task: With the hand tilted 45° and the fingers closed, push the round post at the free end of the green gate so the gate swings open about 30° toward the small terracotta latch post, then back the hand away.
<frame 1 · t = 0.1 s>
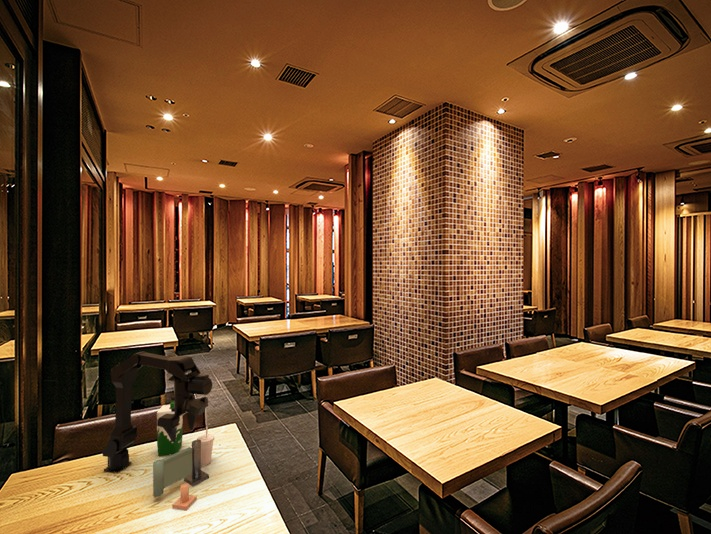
hand: (182, 435, 125), 15 cm above the table, tool pointing down, fingers open, 9 cm apart
smoothie: (205, 463, 133), on the table
milk carton: (170, 451, 142), on the table
gate: (173, 470, 116), point 7 cm above the table, hinge at 0.0°
hinge post: (196, 479, 123), on the table
latch post: (184, 504, 110), on the table
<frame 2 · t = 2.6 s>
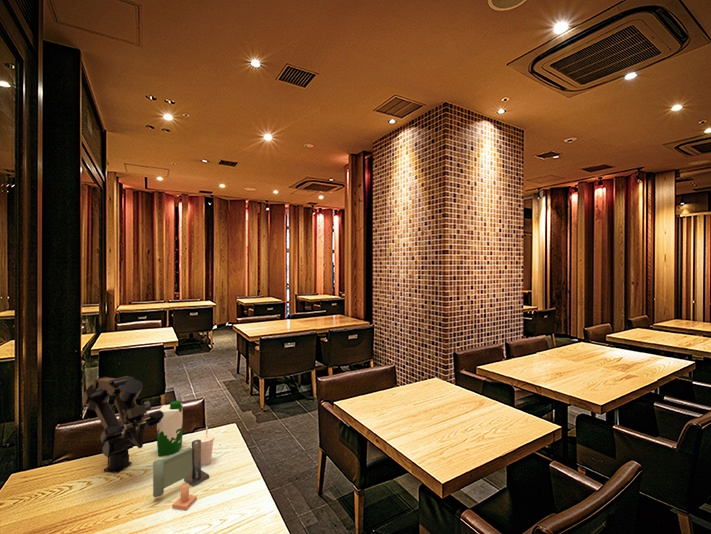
hand: (141, 447, 120), 13 cm above the table, tool tilted 45°, fingers closed
nothing on the table moved.
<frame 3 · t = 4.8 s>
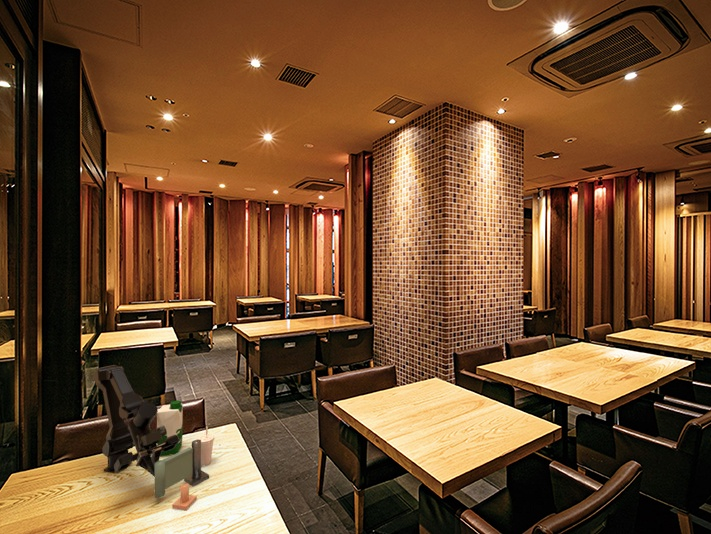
hand: (156, 476, 113), 7 cm above the table, tool tilted 45°, fingers closed, pressing on gate
gate: (174, 471, 116), point 7 cm above the table, hinge at 4.1°, touching gripper
everything else where it was.
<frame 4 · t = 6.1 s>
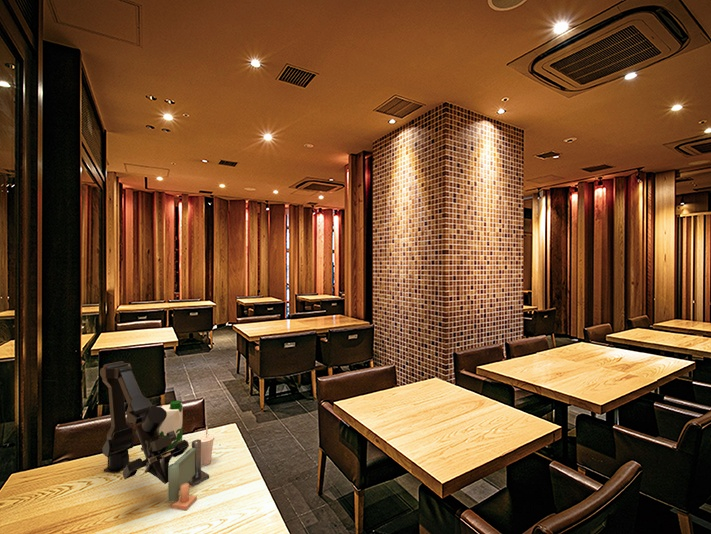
hand: (166, 482, 109), 7 cm above the table, tool tilted 45°, fingers closed
gate: (182, 473, 115), point 7 cm above the table, hinge at 29.5°, touching gripper
everything else where it was.
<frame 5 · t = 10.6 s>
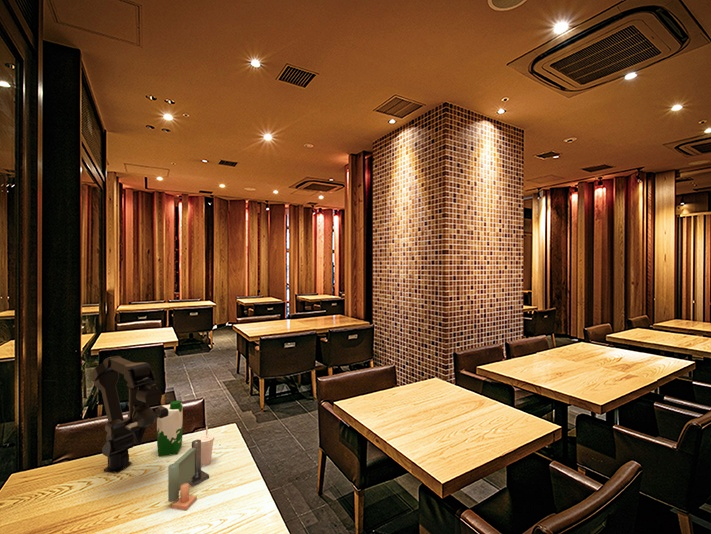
hand: (138, 443, 123), 13 cm above the table, tool pointing down, fingers closed
gate: (182, 473, 115), point 7 cm above the table, hinge at 29.5°
everything else where it was.
at the end: gate at +30° (first picture: +0°) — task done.
